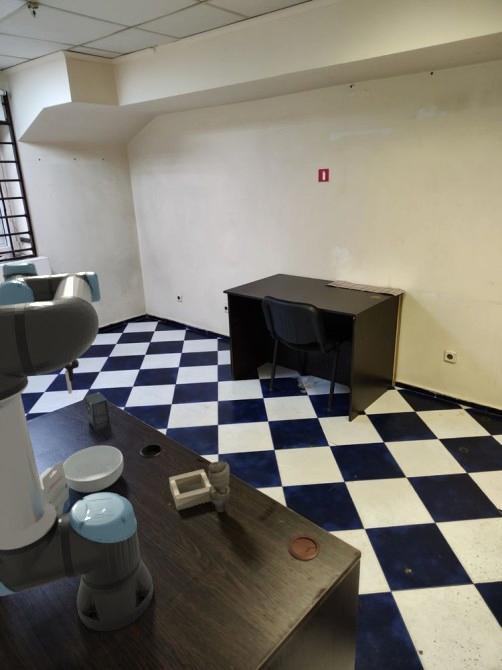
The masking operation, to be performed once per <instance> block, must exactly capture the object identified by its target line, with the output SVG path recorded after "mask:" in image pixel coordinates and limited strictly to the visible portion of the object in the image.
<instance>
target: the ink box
mask: <svg viewBox="0 0 502 670" xmlns="http://www.w3.org/2000/svg"><path fill="white" fill-rule="evenodd" d="M63 464H64V462H63V460H62V459H60V460H59V461H58V462H57V463H56V464H55V465H54V466H53V467H47V468H45V470H44V471H43V472H42V473H41V474H40V475H39V479H40V483H41V488H42V492H43V497H44V501H46V502H48V503H50V504H52V505H53V506H54V508H55V510H56V513H57V515H60V514H65V513H67V510H68V509H69V508H70V507H71V505H72V502H71V497H70V494H69V486H68V485H67V481H66V476H65V471H64V467H63Z"/></svg>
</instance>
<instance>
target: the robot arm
mask: <svg viewBox="0 0 502 670" xmlns="http://www.w3.org/2000/svg"><path fill="white" fill-rule="evenodd" d="M98 277H99V275H98V274H97V272H94V271H80V272H70V273H58V274H46V275H38V273H37V269H36V264H35V263H34V262H32V261H14V262H8V263H6V264H3V266H2V278H3V280H4V281H3V282H2V283H0V597H4V596H9V595H14V594H16V595H17V594H21V593H24V592H26V591H30V590H33V589H36V588H40V587H44V586H47V585H49V584H50V585H51V584H54V583H57V582H60V581H64V580H68V579H71V578H75V577H79V576H80V577H81V578H80V581H79V586H78V591H77V596H76V606H77V611H78V612H77V613H78V616H79V619H80V621H81V622H82V624H84V626H86V627H88V628H89V629H91V630H94V631H98V632H111V631H116V630H119V629H123V628H125V627H127V626H128V625H130V624H132V623H134V622H135V621H137V620H138V619H139V618H140V617H141V616H142V615H143V613H145V611H146V610H147V609H148V607H149V606H150V604H151V602H152V598H153V594H154V585H153V579H152V578H153V577H152V575H151V572H150V570H149V569H148V568H147V566H146V565H145V563H144V561H143V559H142V558H141V554H140V553H141V552H140V545H139V537H138V531H137V528H138V527H137V526H138V523H137V518H136V517H135V512H134V507H133V505H132V503H131V502H130V501H129V499H127V498H126V497H124V496H121V495H120V494H118V493H114V492H109V491H108V492H106V491H105V492H95V493H94V492H93V493H91V494H88V495H86V496H84V497H82V499H79V500H77V501H76V502H75V503H74V504H72V507H71V509H70V511H69V512H65V513H64V514H60V515H57V513H56V510H55V508H54V506H53V505H52V504H50V503H48V502H46V501H44V497H43V492H42V488H41V483H40V479H39V476H40V475H39V471H38V467H37V463H36V456H35V454H34V453H35V452H34V447H33V444H32V439H31V435H30V431H29V425H28V422H27V417H26V413H25V407H24V403H23V400H22V394H23V392H24V391H25V390H26V389H27V388H28V385H29V378H28V377H33V376H39V375H45V374H49V373H52V372H55V371H58V370H60V369H63V368H64V369H65V370H64V375H65V380H66V387H67V391H68V394H69V395H70V394H72V392H73V388H72V382H73V381H74V380H75V376H74V375H75V373H74V370H75V369H78V368H79V365H80V362H79V361H78V358H80V357H82V356H83V354H84V353H86V352H87V351H88V350H89V348H91V346H92V344H93V343H94V342H95V340H96V339H97V336H98V333H99V329H100V328H99V326H100V325H99V323H100V322H99V316H98V313H97V311H96V309H95V307H94V306H93V303H96V302H97V303H98V302H100V301H101V290H100V283H99V278H98Z"/></svg>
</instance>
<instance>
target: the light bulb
mask: <svg viewBox="0 0 502 670" xmlns="http://www.w3.org/2000/svg"><path fill="white" fill-rule="evenodd" d="M207 469H208V470H207V473H208V480H209V483H210V485H211V487H210V489H209V494H210V500H211V501H210V502H211V503H213V504H214V509H215V511H216V512H218V513H223V512H225V510H226V504H227V502H228V501H229V499H230V492H231V491H230V486H229V484H230V464H229V463H228V462H227V461H213V462H211V463H209V465H208V466H207Z"/></svg>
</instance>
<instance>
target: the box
mask: <svg viewBox="0 0 502 670" xmlns="http://www.w3.org/2000/svg"><path fill="white" fill-rule="evenodd" d="M84 401H85V407H86V411H87V412H86V413H87V418H88V419H87V420H88V422H89V423H90V425H91V426H92V427H93V429H94V430H96V431H97V430H100V429H104V428H106V427H109V426H111V419H110V413H109V406H108V400H107V398H106V397H105V396H104V395H103V394H102V393H101V392H100V391H97V392H95V393H90V394H87V395H85V396H84Z"/></svg>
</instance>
